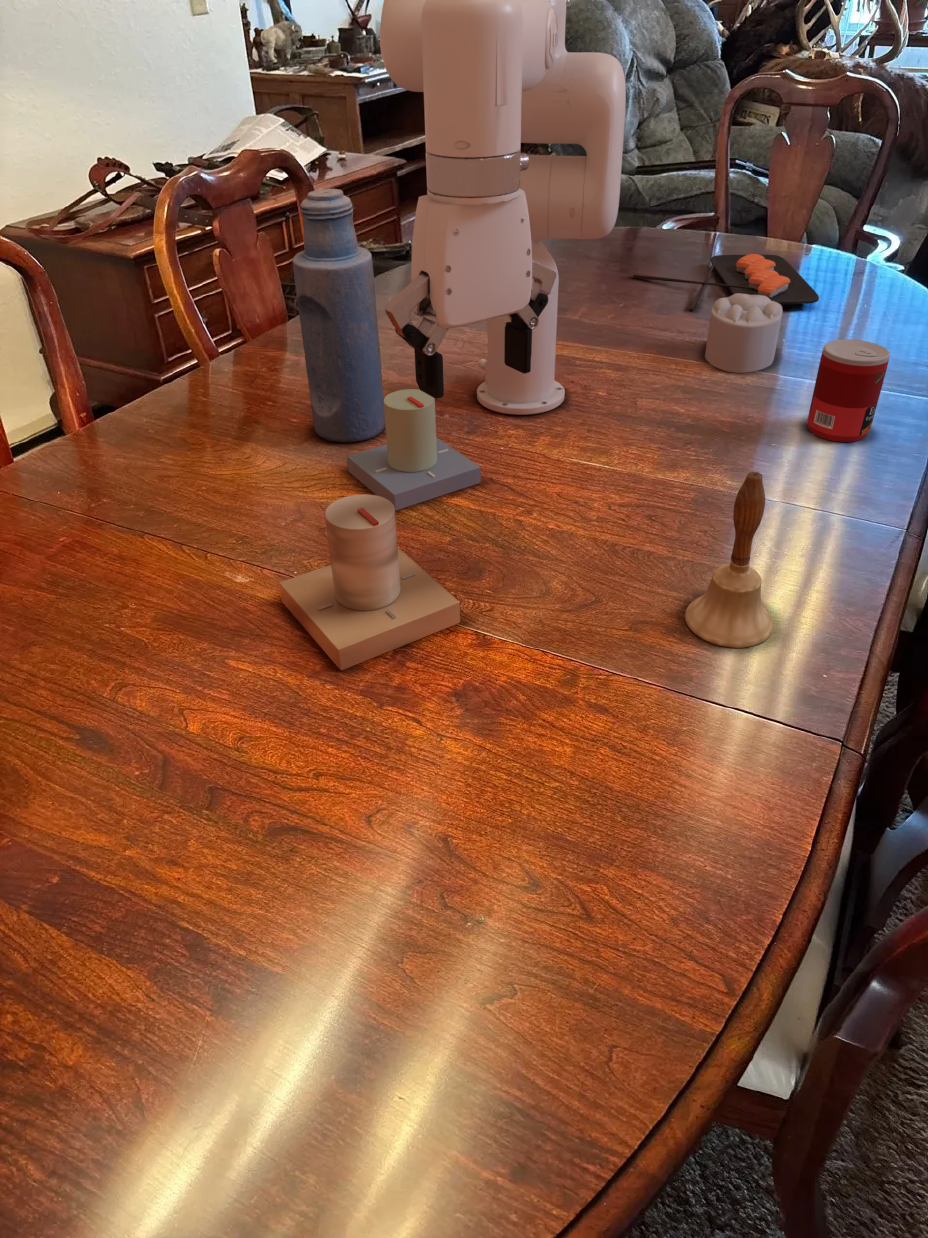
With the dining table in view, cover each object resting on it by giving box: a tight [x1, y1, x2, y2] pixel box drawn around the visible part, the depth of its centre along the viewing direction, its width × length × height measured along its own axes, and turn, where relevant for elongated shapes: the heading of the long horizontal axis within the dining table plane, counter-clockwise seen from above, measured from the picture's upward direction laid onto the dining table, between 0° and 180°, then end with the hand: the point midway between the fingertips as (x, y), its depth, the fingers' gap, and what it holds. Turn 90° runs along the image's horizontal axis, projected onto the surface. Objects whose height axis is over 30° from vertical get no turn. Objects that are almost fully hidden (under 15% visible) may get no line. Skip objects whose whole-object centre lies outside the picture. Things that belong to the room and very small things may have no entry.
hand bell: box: [684, 471, 774, 649], centre depth 84 cm, size 8×8×16 cm
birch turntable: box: [278, 547, 461, 672], centre depth 90 cm, size 13×13×3 cm
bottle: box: [292, 188, 385, 444], centre depth 116 cm, size 10×10×30 cm
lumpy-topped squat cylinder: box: [704, 293, 783, 374], centre depth 141 cm, size 10×13×9 cm
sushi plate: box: [632, 253, 820, 312], centre depth 171 cm, size 29×30×4 cm
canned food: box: [806, 339, 891, 443], centre depth 119 cm, size 8×8×11 cm
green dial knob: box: [384, 388, 437, 472], centre depth 110 cm, size 6×6×8 cm
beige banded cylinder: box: [324, 493, 401, 611], centre depth 87 cm, size 6×6×9 cm
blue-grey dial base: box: [346, 436, 482, 512], centre depth 113 cm, size 12×12×2 cm
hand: (475, 380), depth 84 cm, fingers open, 9 cm apart
